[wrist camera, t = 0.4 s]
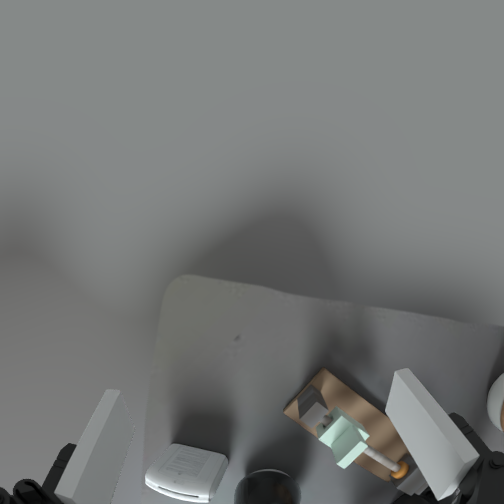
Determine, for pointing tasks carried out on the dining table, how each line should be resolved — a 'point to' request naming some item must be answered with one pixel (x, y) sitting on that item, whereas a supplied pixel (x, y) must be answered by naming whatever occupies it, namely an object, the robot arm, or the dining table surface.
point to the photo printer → (187, 473)
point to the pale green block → (343, 437)
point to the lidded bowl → (496, 403)
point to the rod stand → (373, 420)
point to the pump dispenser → (267, 488)
